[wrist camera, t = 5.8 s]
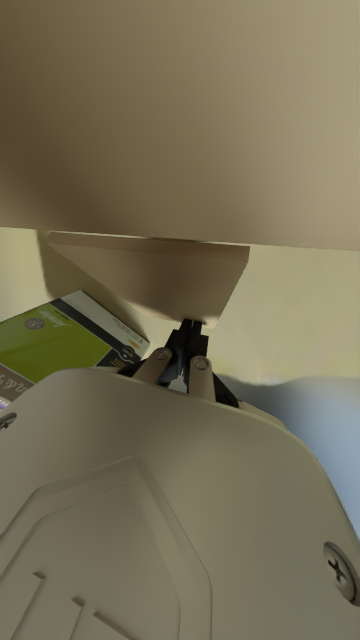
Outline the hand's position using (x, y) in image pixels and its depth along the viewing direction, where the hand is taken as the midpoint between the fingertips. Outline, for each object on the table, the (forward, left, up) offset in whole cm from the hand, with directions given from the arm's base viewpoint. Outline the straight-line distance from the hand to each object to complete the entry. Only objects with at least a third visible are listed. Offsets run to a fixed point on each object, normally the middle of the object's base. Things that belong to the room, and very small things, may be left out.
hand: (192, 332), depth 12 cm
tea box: (+17, +9, -7) cm, 20 cm away
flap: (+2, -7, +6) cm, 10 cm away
